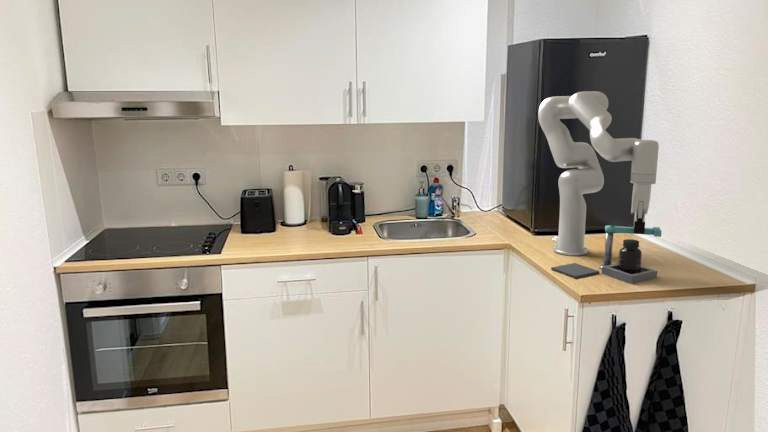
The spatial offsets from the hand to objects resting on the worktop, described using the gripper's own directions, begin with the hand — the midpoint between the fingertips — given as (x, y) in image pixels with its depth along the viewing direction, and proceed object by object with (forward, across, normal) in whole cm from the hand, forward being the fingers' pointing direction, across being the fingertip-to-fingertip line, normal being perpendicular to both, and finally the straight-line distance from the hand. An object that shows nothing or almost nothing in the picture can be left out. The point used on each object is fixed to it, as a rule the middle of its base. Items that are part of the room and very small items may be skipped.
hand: (638, 233), depth 187 cm
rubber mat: (+14, +6, -19) cm, 24 cm away
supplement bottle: (+14, +4, -2) cm, 15 cm away
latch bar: (+1, -2, -2) cm, 3 cm away
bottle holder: (+14, +4, -2) cm, 14 cm away
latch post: (+14, -2, -9) cm, 17 cm away
